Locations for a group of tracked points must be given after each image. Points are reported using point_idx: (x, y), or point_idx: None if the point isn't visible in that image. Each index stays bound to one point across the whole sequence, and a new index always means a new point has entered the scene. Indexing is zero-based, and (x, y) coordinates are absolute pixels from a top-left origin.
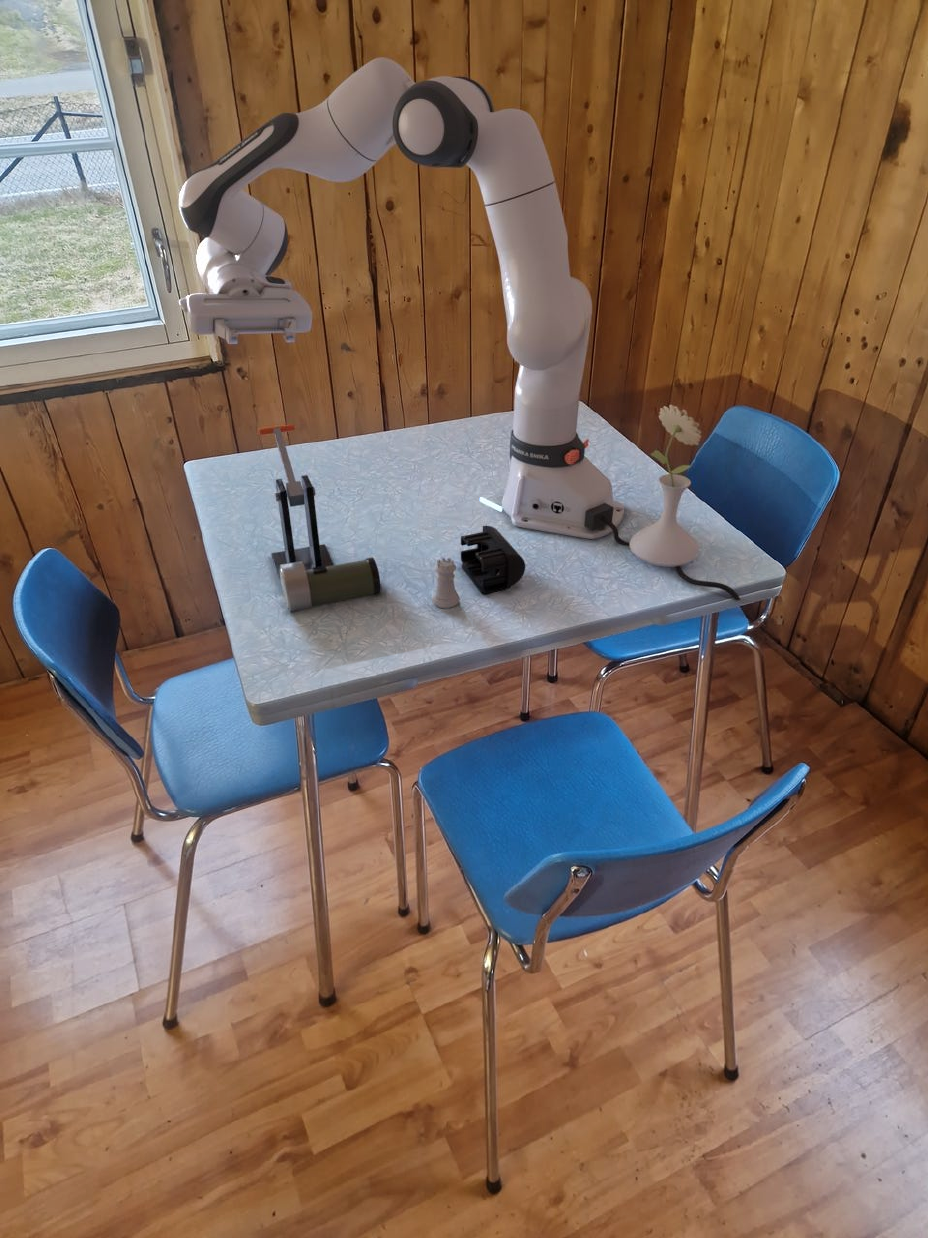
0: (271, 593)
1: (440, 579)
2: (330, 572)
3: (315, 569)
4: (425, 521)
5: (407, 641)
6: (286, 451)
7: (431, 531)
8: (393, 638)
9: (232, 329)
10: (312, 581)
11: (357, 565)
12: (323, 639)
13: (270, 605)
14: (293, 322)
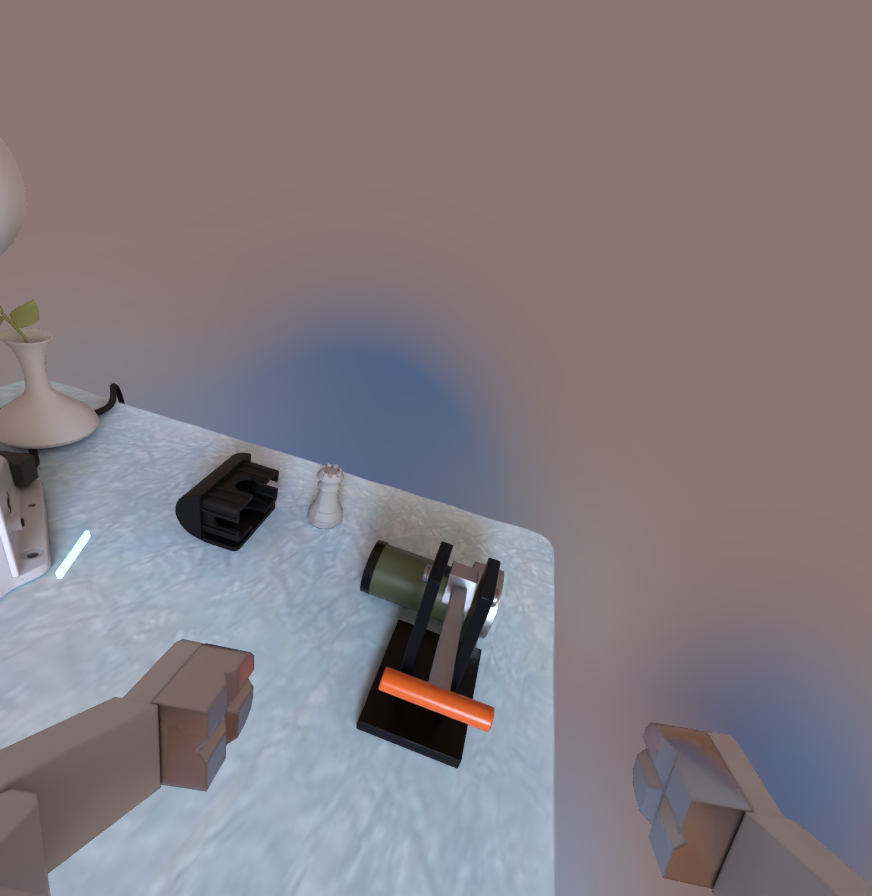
0: (492, 670)
1: (339, 483)
2: None
3: None
4: (118, 689)
5: (398, 511)
6: (443, 630)
7: (155, 651)
8: (406, 521)
9: (715, 796)
10: None
11: (399, 553)
12: (469, 559)
13: (503, 646)
14: (6, 764)
